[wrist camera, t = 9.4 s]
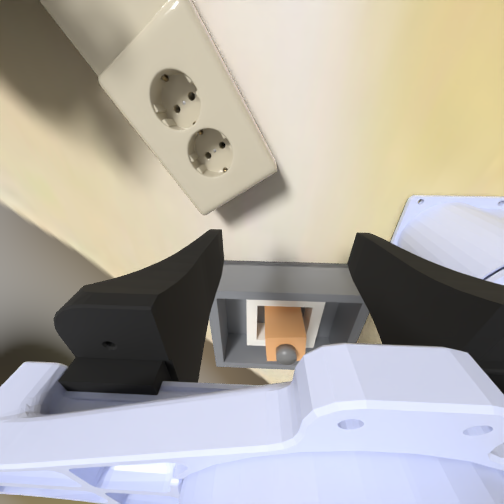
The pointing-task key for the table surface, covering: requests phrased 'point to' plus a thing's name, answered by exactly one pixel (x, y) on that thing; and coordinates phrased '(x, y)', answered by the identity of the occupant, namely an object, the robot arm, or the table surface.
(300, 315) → the plug
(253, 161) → the electrical outlet
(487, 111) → the table surface
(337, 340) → the bay
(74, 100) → the table surface
